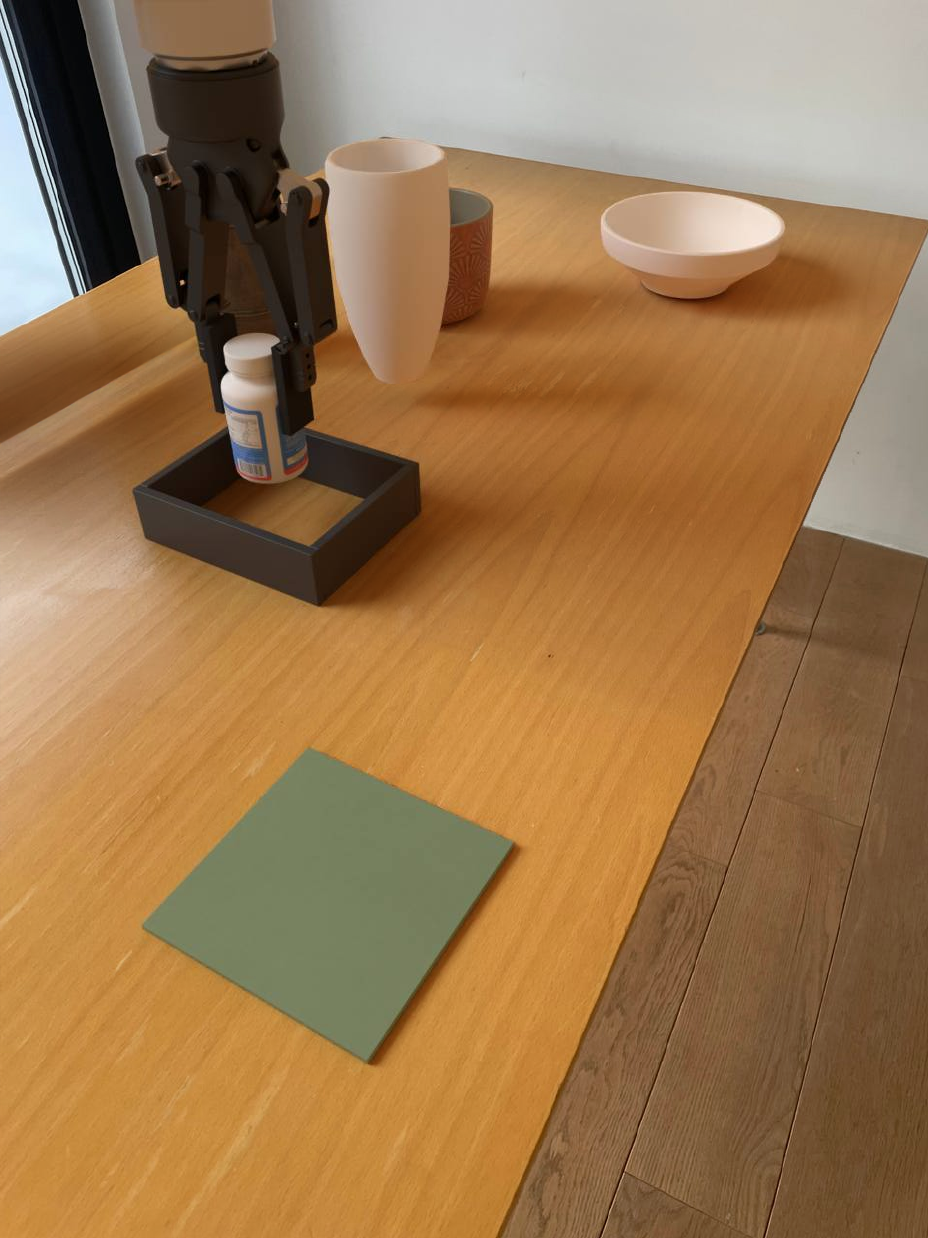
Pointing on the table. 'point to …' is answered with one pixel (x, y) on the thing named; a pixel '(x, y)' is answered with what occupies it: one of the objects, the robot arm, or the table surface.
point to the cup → (391, 249)
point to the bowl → (691, 240)
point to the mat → (332, 899)
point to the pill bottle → (258, 413)
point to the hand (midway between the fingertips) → (264, 415)
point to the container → (245, 290)
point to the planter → (468, 254)
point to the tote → (267, 556)
